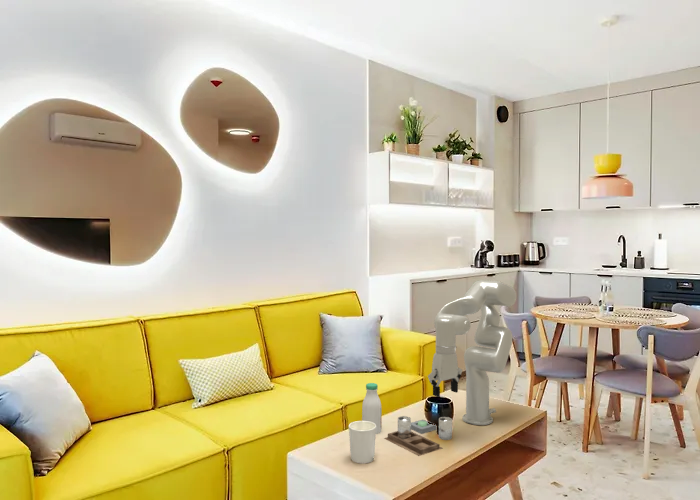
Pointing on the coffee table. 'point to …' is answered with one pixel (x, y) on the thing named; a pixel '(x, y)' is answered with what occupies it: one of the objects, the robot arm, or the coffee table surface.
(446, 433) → the silver rounded cylinder
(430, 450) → the brown cruet tray
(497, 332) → the robot arm
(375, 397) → the milk bottle
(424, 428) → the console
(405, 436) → the cylinder
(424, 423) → the button
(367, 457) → the white cup
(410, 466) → the coffee table surface
